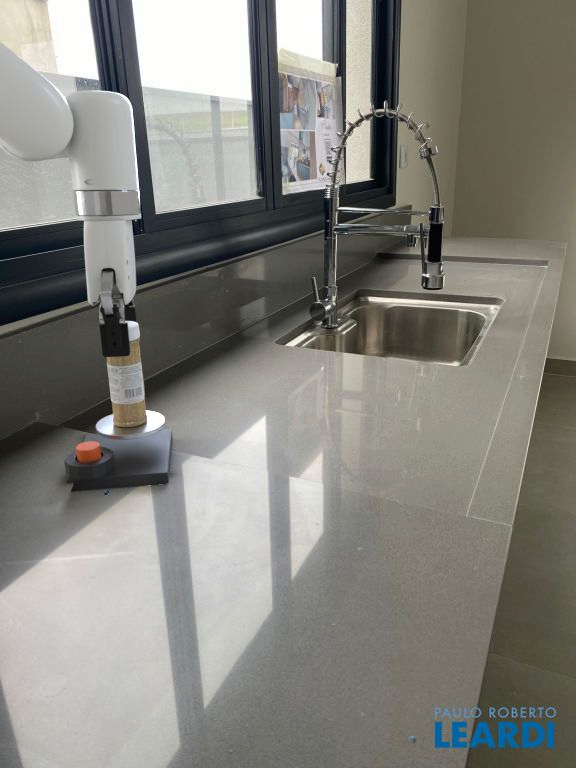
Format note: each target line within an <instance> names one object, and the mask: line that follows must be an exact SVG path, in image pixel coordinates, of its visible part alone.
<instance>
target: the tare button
mask: <svg viewBox="0 0 576 768" xmlns="http://www.w3.org/2000/svg"><path fill="white" fill-rule="evenodd" d="M75 451H76V452H77V459H78V462H92V461H96V460H98V459H100V458H101V450H100V444H99V443H98V442H95V441H88V442H83V441H82V442H81V443H79V444H77V445H76V447H75Z"/></svg>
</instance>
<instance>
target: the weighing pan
mask: <svg viewBox="0 0 576 768" xmlns="http://www.w3.org/2000/svg"><path fill="white" fill-rule="evenodd" d="M146 414H147V417H148V419H147V421H146V422H145V423H143V424H141V425H138V426H135V427H120V426H117V425H115V424H114V422H113V418H114V416H113V413H112V414H109V415H106V416H104V417H102V418H101V419H99V420H98V421H97V422H96V424H95V431H96V434H99V435H100V436H102V437H105V438H109V439H116V440H127V439H136V438H141V437H145V436H149V435H152V434H154V433H156V432H158V431H160V430H163V429H164V427H165V425H166V418H165V416H164V415H163V414H162V413H160V412H157V411H152V410H146Z"/></svg>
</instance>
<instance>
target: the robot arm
mask: <svg viewBox="0 0 576 768" xmlns="http://www.w3.org/2000/svg"><path fill="white" fill-rule="evenodd" d="M0 149H1V150H2V151H3V152H4V153H6V154H7V155H9V156H11V157H12V158H14V159H16V160H19V161H24V162H30V163H31V162H33V163H34V162H42V161H49V160H57V159H67V158H68V159H69V160H68V161H69V168H70V177H71V178H70V179H71V186H72V190H73V191H72V195H73V201H74V212H75V220H76V221H83V251H84V252H83V253H84V265H85V266H84V267H85V279H86V290H87V291H86V292H87V293H86V294H87V295H86V296H87V302H88V304H89V305H90V306H92V307H95V306H97V304H98V303H99V325H98V326H99V334H100V343H101V353H102V356H103V357H104V358H107V357H122V356H129V355H130V342H129V332H128V323H125V321H133V322H137V323H138V321H137V309H136V306H135V298H134V297H135V295H136V293H137V269H136V254H135V242H134V241H135V240H134V232H133V231H134V230H133V220H140V219H142V209H141V198H140V197H141V196H140V186H139V174H138V173H139V172H138V162H137V150H136V137H135V125H134V115H133V106H132V103H131V101H130V100H129V98H128V97H127V96H125V95H124V94H122V93H119V92H115V91H110V90H109V91H108V90H97V89H96V90H89V89H88V90H77V91H73V92H70V93H69V94H68V95H66V96H64V95H63V94H62V93H61V91H60V90H59V89H58V88H57V87H56V86H55V85H54V84H53V83H52V82H51V81H50V80H48V79H47V78H46V77H45V76H44V75H43V74H41V73H40V72H39V71H38V70H36V69H35V68H34V67H33V66H32V65H30V64H29V62H26V60H24V59H23V58H21V57H20V56H19V55H18V54H17V53H15V52H14V51H13V50H11V49H10V48H9V47H8V46H6V45H5V44H4V43H3V42H1V41H0Z"/></svg>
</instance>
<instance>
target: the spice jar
mask: <svg viewBox="0 0 576 768" xmlns="http://www.w3.org/2000/svg"><path fill="white" fill-rule="evenodd" d="M125 323H128V332H129V342H130V355H129V356H122V357H106V366H107V376H108V385H109V386H108V387H109V393H110V395H109V396H110V401H111V407H112V414H113V416H114V418H113V422H114V424H115V425H117V426H120V427H135V426H138V425H141V424H143V423H145V422H146V421H147V419H148V417H147V414H146V411H147V408H146V407H147V405H146V393H145V381H144V374H143V367H142V366H143V364H142V358H141V348H140V340H141V339H140V337H141V333H140V325H139V323H138V321H137V322H133V321H125Z"/></svg>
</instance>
